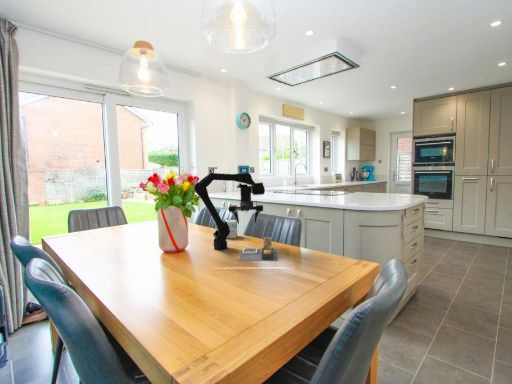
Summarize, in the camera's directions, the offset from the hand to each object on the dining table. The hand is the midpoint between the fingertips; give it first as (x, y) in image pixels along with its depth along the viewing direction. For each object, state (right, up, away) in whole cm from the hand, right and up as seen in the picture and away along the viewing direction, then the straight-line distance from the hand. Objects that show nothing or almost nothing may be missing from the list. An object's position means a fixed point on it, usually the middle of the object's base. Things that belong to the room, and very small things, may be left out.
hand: (246, 223), depth 145 cm
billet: (+11, -13, -12) cm, 21 cm away
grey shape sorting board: (+6, -14, -16) cm, 23 cm away
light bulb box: (-13, -12, +24) cm, 29 cm away
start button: (+11, -13, -21) cm, 27 cm away
